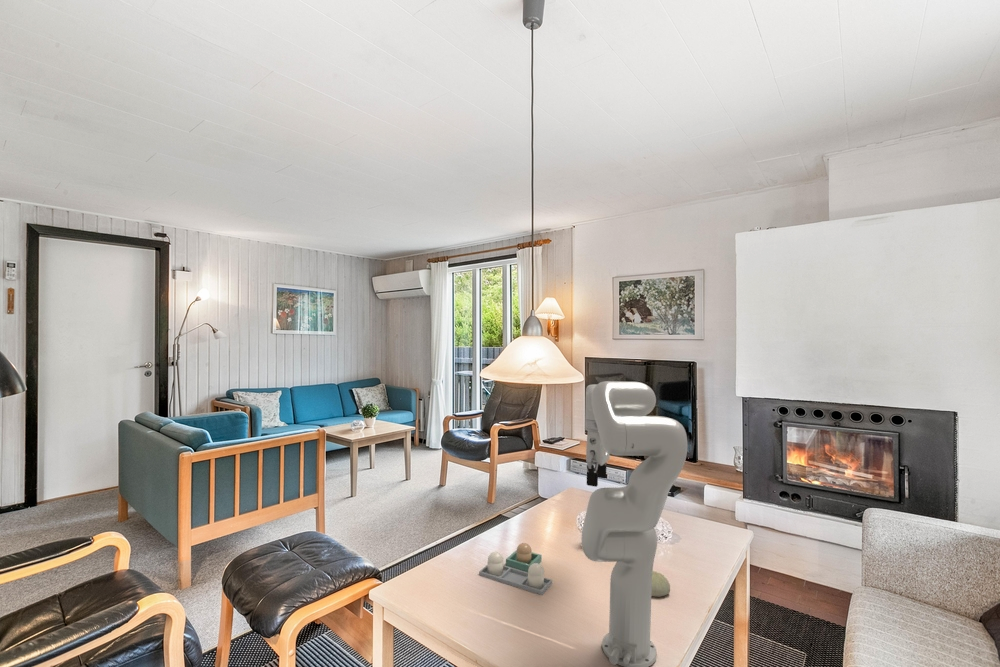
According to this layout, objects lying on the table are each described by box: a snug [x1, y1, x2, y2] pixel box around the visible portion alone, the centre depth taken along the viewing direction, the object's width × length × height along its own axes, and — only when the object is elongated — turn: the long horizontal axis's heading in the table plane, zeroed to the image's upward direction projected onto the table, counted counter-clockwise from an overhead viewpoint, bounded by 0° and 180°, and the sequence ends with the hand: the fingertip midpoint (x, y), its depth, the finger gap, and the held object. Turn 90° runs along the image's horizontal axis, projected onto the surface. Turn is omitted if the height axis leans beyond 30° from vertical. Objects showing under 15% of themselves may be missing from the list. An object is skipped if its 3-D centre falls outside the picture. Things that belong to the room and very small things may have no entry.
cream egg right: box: [527, 563, 545, 590], centre depth 142 cm, size 5×5×6 cm
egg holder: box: [505, 549, 543, 573], centre depth 155 cm, size 9×9×3 cm
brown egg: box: [516, 542, 533, 564], centre depth 155 cm, size 5×5×6 cm
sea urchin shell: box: [651, 570, 671, 598], centre depth 142 cm, size 9×8×8 cm
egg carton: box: [478, 564, 553, 596], centre depth 146 cm, size 7×21×2 cm, turn 61°
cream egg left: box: [487, 551, 504, 577], centre depth 149 cm, size 5×5×6 cm
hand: (596, 481), depth 146 cm, fingers open, 9 cm apart
